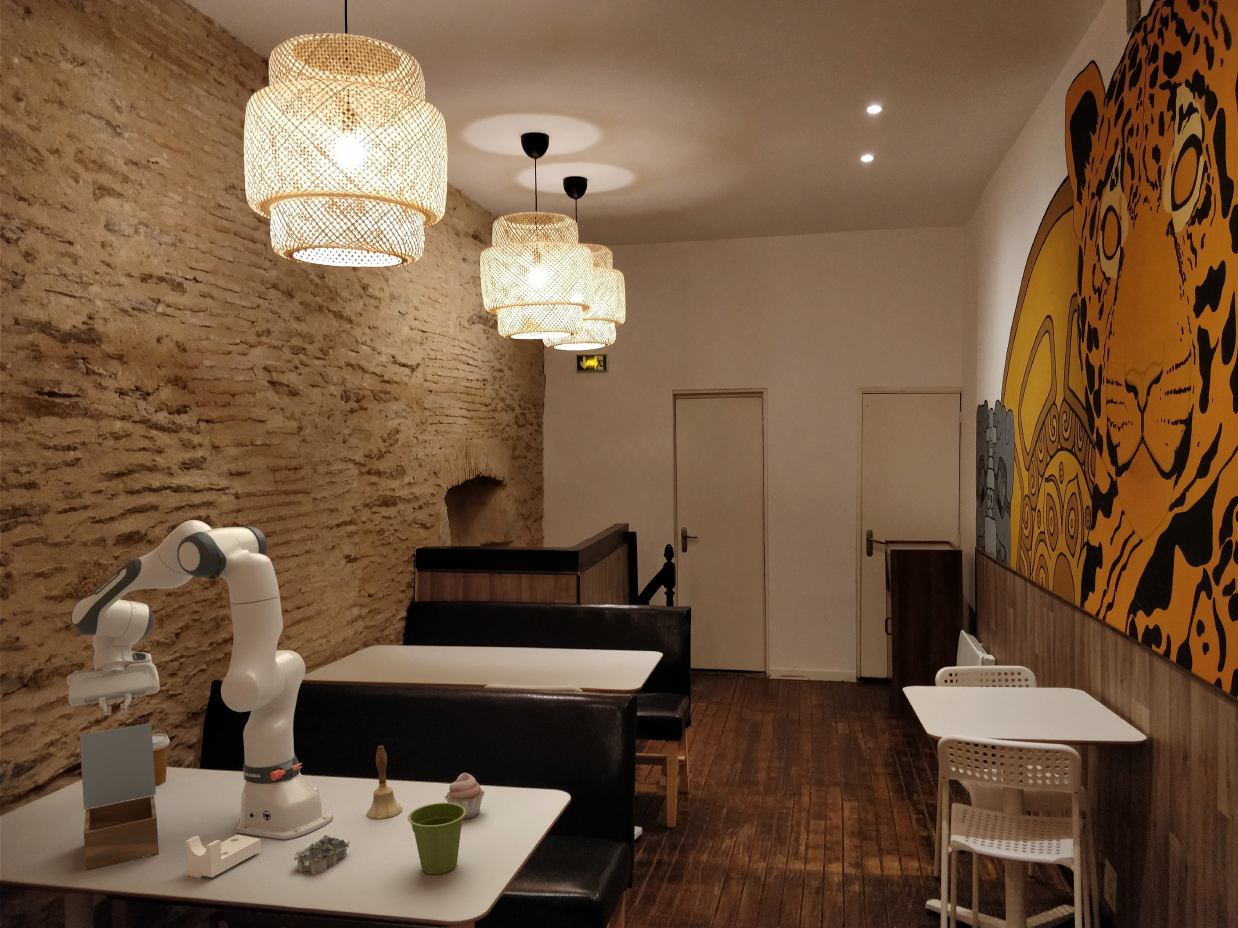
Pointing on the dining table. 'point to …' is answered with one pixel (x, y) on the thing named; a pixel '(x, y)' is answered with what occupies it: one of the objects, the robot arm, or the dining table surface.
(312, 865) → the egg carton
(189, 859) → the bracket
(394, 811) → the hand bell
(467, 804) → the cupcake
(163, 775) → the disposable coffee cup
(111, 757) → the lid
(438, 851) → the plant pot
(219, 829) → the dining table surface
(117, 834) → the box
